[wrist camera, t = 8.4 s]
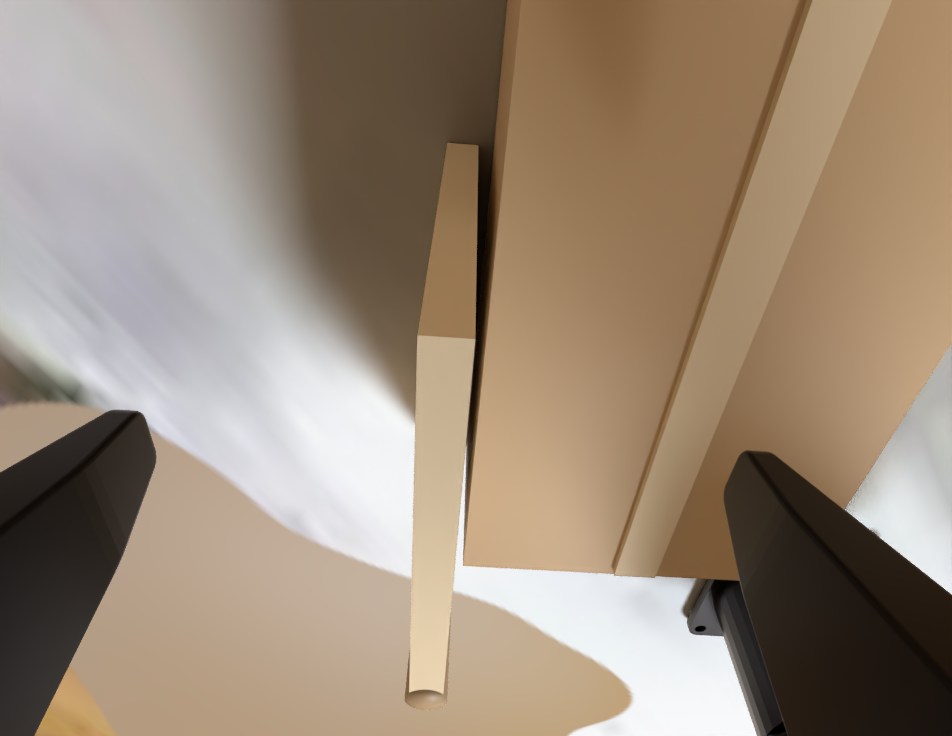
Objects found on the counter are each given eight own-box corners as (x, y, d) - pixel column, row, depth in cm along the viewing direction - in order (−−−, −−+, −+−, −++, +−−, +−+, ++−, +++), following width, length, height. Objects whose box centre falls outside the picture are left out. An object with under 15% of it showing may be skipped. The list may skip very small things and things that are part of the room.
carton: (739, 463, 22) (799, 589, 18) (466, 447, 22) (462, 571, 18) (964, -21, 14) (1181, 7, 9) (513, -63, 13) (528, -55, 9)
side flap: (457, 450, 22) (445, 711, 15) (430, 448, 22) (404, 709, 15) (482, 145, 16) (482, 339, 8) (443, 142, 16) (409, 334, 8)
